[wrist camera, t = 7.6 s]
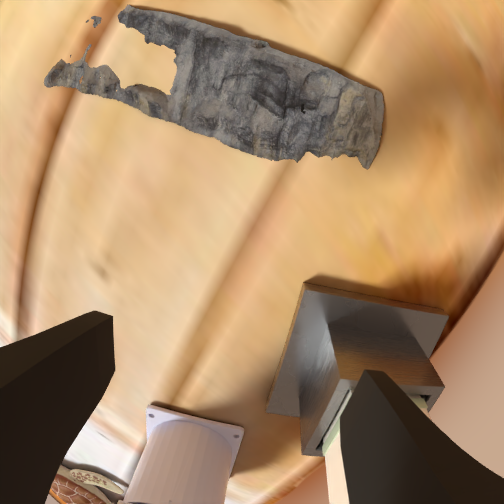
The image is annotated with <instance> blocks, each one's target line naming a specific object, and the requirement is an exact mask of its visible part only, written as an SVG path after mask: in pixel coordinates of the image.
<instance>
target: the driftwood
mask: <svg viewBox="0 0 504 504" xmlns="http://www.w3.org/2000/svg"><path fill="white" fill-rule="evenodd" d="M91 19H94V24H93V27H94V28H95V27H96V26H97V25H98V24H99V23H101V22H100V21H101V17H96V16H93V17H91ZM118 19H119V22H120V23H123V24H125V26H126V28H130V27H133V28H135V29H136V30H138V31H139V32H140V33H142V34H144V35H145V42H146V43H147V44H149V43H150V42H152V43H154V44H156V45H159V46H161V45H165V46H167V47H168V48H170V49H174V50H175V54H176V58H175V59H174V62H175V63H176V65H177V73H176V76H175V79H174V82H173V87H172V88H171V90H170V93H171V95H166V94H165V93H164V92H162V91H160V90H158V89H156V88H153V87H148V86H145V85H142V84H139V85H135V86H134V85H133V86H127V88H125V89H122V88H121V87H120V80H119V78H118V77H117V76H116V74H115V73H114V72H113V71H112V70H111V69H110V68H109V66H107V65H102V66H99V67H97V68H94V67H93V68H90V67H89V66H88V64H87V63H86V62H85V57H86V54H87V51H88V50H89V48H90V47H91V44H89V46H88V47H87V49H86V51H85V53H84V55H83V57H82V58H81V60H80V61H76V62H74V63H72V64H70V63H67V64H66V63H65V62H64V61H63V60H62V59H61V60H60V61H59V62H58V63H57V64H56V65H55V66H54V67H53V68H52V69H51V71H50V72H49V73H48V75H47V76H46V77H45V80H44V85H45V86H46V87H53V86H64V87H71V88H77V89H78V90H79V91H80V92H82V93H86V94H92V95H93V94H95V95H99V96H101V97H103V98H109V99H116V100H118V101H122V102H124V103H126V104H128V105H130V106H133V107H134V108H137V109H139V110H141V111H142V112H143V113H144V114H147V115H148V116H151V117H156V118H159V119H164V120H165V121H169V122H174V123H176V124H177V125H180V126H183V127H185V128H186V129H188V130H189V131H192V132H195V133H199V134H202V135H205V136H208V137H215V138H216V139H217V140H220V141H221V142H222V143H223V144H226V145H228V146H230V147H232V148H235V149H239V150H241V151H243V152H246V153H250V154H252V155H257V157H261V158H262V157H263V158H266V159H269V160H271V161H272V160H274V161H279V160H283V159H294V160H295V161H296V162H297V163H298V161H299V160H301V158H302V157H303V156H304V154H305V153H306V152H311V153H312V154H314V155H316V156H317V157H323V156H326V155H327V156H330V157H331V158H332V159H333V158H334V157H337V158H338V157H339V156H340V155H342V154H346V155H347V156H348V157H355V156H357V157H358V159H359V161H360V163H361V165H362V167H363V168H365V169H367V170H368V169H369V168H370V167H369V166H370V164H371V163H372V162H373V159H374V157H375V156H376V152H377V149H378V147H379V140H380V138H381V137H380V136H381V135H382V133H381V132H382V123H383V119H384V118H383V114H384V103H383V95H382V93H381V92H380V91H378V90H377V89H376V90H375V89H372V88H370V87H367V86H363V85H361V84H360V83H359V82H355V81H353V80H351V79H348V78H347V77H344V76H342V75H341V74H339V73H337V72H336V71H334V70H332V69H329V68H328V67H323V66H322V65H320V64H316V63H314V62H311V61H309V60H307V59H304V58H299V57H297V56H293V55H289V54H286V53H284V52H281V51H279V50H277V49H273V48H271V47H270V46H269V43H268V42H266V41H262V40H256V39H255V40H254V39H251V38H248V37H242V36H238V35H235V34H233V33H231V32H229V31H227V30H225V29H221V28H217V27H213V26H212V25H207V24H205V23H201V22H198V21H196V20H193V19H191V20H190V19H188V18H186V17H181V16H178V15H175V14H170V13H166V12H159V11H151V10H145V11H144V10H139V9H138V8H137V9H135V8H134V7H132V6H130V5H127V7H126V8H125V9H124V10H123V11H121V12H120V13H119V15H118ZM88 21H89V20H87V21H86V23H87V22H88ZM70 58H71V55H70ZM82 76H83V78H82V83H81V84H79V80H80V78H81V77H82ZM100 77H101V78H100ZM116 90H117V92H116ZM332 159H331V160H332Z"/></svg>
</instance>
